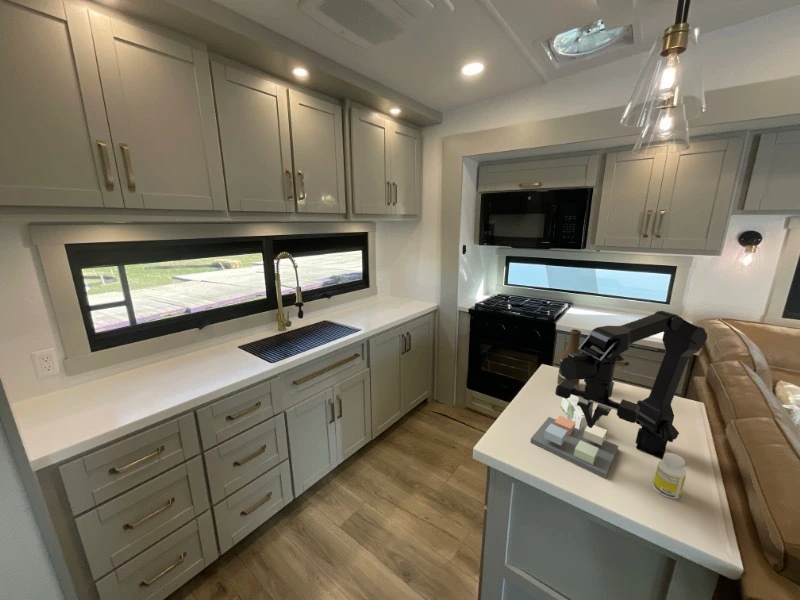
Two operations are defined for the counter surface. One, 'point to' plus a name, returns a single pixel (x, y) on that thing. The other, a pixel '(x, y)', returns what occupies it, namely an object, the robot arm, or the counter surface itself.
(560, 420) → the terracotta key
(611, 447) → the keypad base
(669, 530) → the counter surface
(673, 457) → the supplement bottle
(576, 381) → the beer bottle
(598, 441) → the cream key
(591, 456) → the sage green key
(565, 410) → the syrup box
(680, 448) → the counter surface
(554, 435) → the slate blue key
